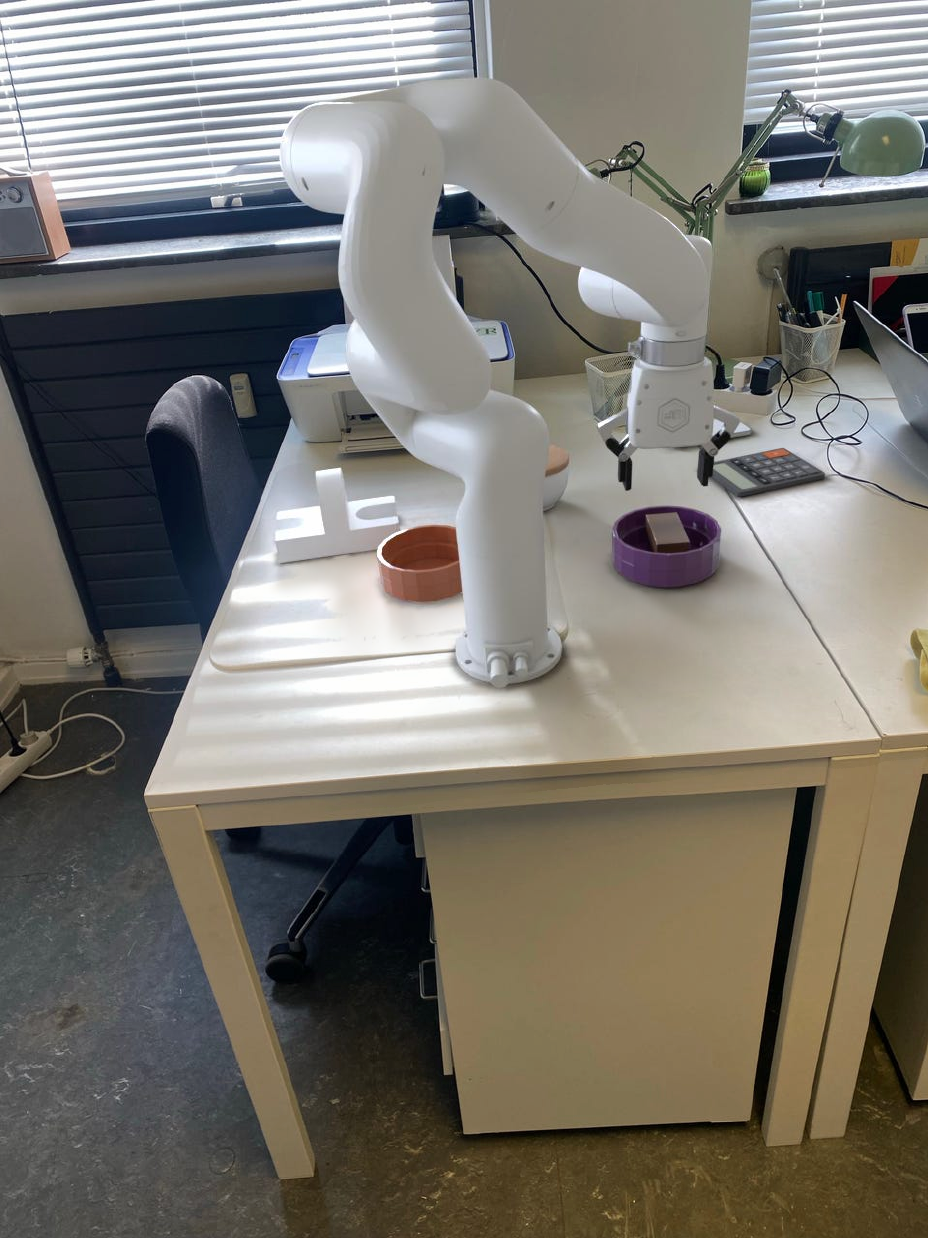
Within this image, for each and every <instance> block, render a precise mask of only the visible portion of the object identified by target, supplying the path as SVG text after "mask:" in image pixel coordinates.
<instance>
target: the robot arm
mask: <svg viewBox="0 0 928 1238" xmlns="http://www.w3.org/2000/svg"><path fill="white" fill-rule="evenodd" d="M279 162H280V169H281V172H282V175H283V179H284V180H285V182H286V184H287V186H288V188H289V189H290V190H291V191H292V193H293V194H294V195H295V197H297V199H299V200H300V201H301V202H302V203H303V204H304V205H307V206H308V207H310V208H312V209H314V210H317V211H319V212H322V213H323V212H324V213H330V214H337V215H344V216H343V221H342V227H341V228H342V229H341V234H340V243H339V245H340V246H339V251H338V253H339V254H338V265H337V267H338V269H337V271H338V273H337V274H338V282H339V288H340V291H341V295H342V297H343V300H344V302H345V304H346V306H347V308H348V310H349V312H350V313H351V315H352V317H353V321H352V323H351V324H350V327H349V329H348V332H347V335H346V339H345V359H346V364H347V369H348V372H349V375H350V377H351V379H352V381H353V384H354V385H355V386H356V388H357V390H358V391H359V392H360V393H361V395H362V396H363V398H364V399H365V400H366V402H367V403H368V404H369V406H370V407H371V408H372V409H373V410H374V412H375V414H377V416H378V417H379V418H380V419H381V421H382V422H383V423H384V424H385V426H386V427H387V428H388V429H389V431H390V432H391V433H392V435H393V436H394V437H395V438H396V439H397V441H398V442H399V443H400V444H401V445H402V447H403V448H404V449H405V450H406V451H408V453H410V454H411V455H412V456H413V457H414V458H416V459H418V460H419V461H421V462H423V463H425V464H427V465H428V466H429V465H430V466H432V467H434V468H436V469H439V470H441V471H444V472H446V473H448V474H450V475H453V476H454V477H457V478H459V479H461V480H462V481H463V483H464V487H465V489H464V490H465V491H464V494H463V497H462V499H461V501H460V503H459V505H458V508H457V512H456V514H455V515H456V517H455V527H456V535H457V543H458V552H459V562H460V572H461V581H462V591H463V592H462V599H463V601H462V602H463V610H464V619H465V630H466V631H465V632H463V634H462V635H460V637H459V638H458V640H457V641H456V645H455V658H456V662H457V664H458V666H459V667H460V669H461V670H462V671H463V672H464V673H466V674H467V675H468V676H470V677H472V678H474V679H477V680H479V681H482V682H486V683H490V684H491V685H492V687H493V688H496V689H504V688H506V687H507V685H510V684H520V683H525V682H529V681H532V680H534V679H537V678H540V677H541V676H543V675H545V674H547V673H548V672H550V671H552V669H554V668H555V666H556V665H557V664H558V663H559V662H560V659H561V657H562V652H563V645H562V639H561V637H560V635H559V633H558V632H557V631H556V630H555V629H554V628H553V627H551V626H550V625H549V624H548V601H547V600H548V599H547V580H546V578H547V577H546V557H545V556H546V555H545V533H544V511H543V489H544V479H545V473H546V467H547V461H548V455H549V447H550V445H551V443H550V442H551V440H550V439H551V437H550V431H549V429H548V425H547V423H546V421H545V419H544V417H543V416H542V415H541V414H540V413H539V411H538V410H537V409H536V408H534V407H533V406H531V405H530V404H529V403H527V402H526V401H524V400H522V399H520V398H518V397H516V396H513V395H511V394H508V393H507V394H506V393H503V392H500V391H496V390H494V389H491V386H492V382H493V367H492V363H491V359H490V355H489V353H488V350H487V348H486V345H485V344H484V342H483V340H482V339H481V337H480V336H479V333H478V332H477V331H476V329H475V327H474V326H473V324H472V323H471V321H470V320H469V318H468V316H467V315H466V313H465V311H464V309H463V308H462V306H461V305H460V303H459V302H458V300H457V299H456V297H455V295H454V293H453V292H452V290H451V288H450V287H449V286H448V284H447V282H446V280H445V278H444V276H443V274H442V272H441V270H440V269H439V266H438V264H437V261H436V259H435V254H434V249H433V232H434V223H435V218H436V214H437V209H438V205H439V201H440V198H441V195H442V190H443V185H450V186H451V185H452V186H458V187H461V188H463V189H464V190H466V191H468V192H469V193H471V194H472V195H473V196H474V197H475V198H476V199H477V200H478V201H479V202H481V203H482V204H483V205H484V206H485V207H486V208H487V209H489V210H490V211H491V212H492V213H493V214H494V215H495V216H497V217H498V218H499V219H500V221H502V222H503V223H504V224H505V225H506V226H508V227H509V228H510V229H511V231H513V232H514V233H515V234H516V235H517V236H518V237H519V238H520V239H521V240H522V241H523V242H524V243H526V244H527V245H528V246H529V247H531V248H532V249H534V250H536V251H538V252H540V253H542V254H544V255H546V256H549V257H551V258H554V259H556V260H558V261H561V262H563V263H566V264H569V265H573V266H576V267H581V268H580V270H579V274H578V278H577V286H578V287H577V288H578V293H579V296H580V298H581V300H582V302H583V303H584V305H585V306H586V307H587V308H589V309H590V311H591V310H592V311H593V312H595V313H597V314H599V315H602V316H605V317H610V318H616V319H620V320H626V321H634V322H639V323H640V333H639V336H638V338H637V340H634V341H629V342H628V343H627V352H628V353H627V354H628V355H635V356H637V357H638V358H637V359H635V360H634V364H633V366H632V371H631V375H630V379H629V384H628V385H629V386H628V393H627V401H626V407H625V408H624V409H622V410H620V411H618V412H617V413H615V414H613V415H611V416H609V417H608V418H605V419H604V420H602V421H601V422H599V423H597V426H596V429H597V431H598V434H599V435H600V437H601V439H602V440H603V442H604V444H605V446H606V448H607V449H608V451H610V452H612V454H614V456H616V457H617V461H618V462H617V481H618V483H622V485H623V488H624V491H625V492H628V491H629V492H630V491H631V490H632V485H633V460H632V458H631V456H632V455H633V454H634V453H635V452H636V450H638V449H641V450H650V449H652V450H653V449H669V448H670V449H671V448H672V449H673V448H687V447H698V446H701V447H700V449H699V450H698V457H697V458H698V460H697V472H696V479H697V480H698V482H699V484H700V485H701V486H702V487H708V486H709V478H712V476H713V467H714V462H715V457H716V456H718V454H719V452H720V450H721V449H723V447H724V446H725V445H726V444H728V443H729V442H730V441H731V435H732V434H733V433H734V431H735V430H736V428H737V427H738V425H739V423H740V422H741V420H740V418H739V417H738V416H737V415H736V414H734V413H732V412H730V411H728V410H726V409H724V408H722V407H719V406H717V405H715V386H714V385H715V384H714V370H713V362H712V361H711V360H710V359H709V358H708V357H707V356H706V347H707V336H708V334H707V332H708V322H709V321H708V320H709V307H710V296H711V285H712V284H711V282H712V272H713V271H712V270H713V259H714V257H713V255H714V253H713V252H714V250H713V245H712V243H711V241H710V240H709V239H707V238H706V237H703V236H701V235H694V234H683V232H682V231H681V230H680V229H679V228H678V227H677V226H676V225H675V224H674V223H673V222H672V221H670V220H669V219H668V218H667V217H665V216H664V215H662V214H661V213H660V212H658V211H657V210H655V209H653V208H651V207H650V206H648V205H647V204H645V203H643V202H641V201H640V200H638V199H636V198H634V197H632V195H629V194H628V193H626V192H625V191H623V190H621V189H620V188H618V187H617V186H615V185H613V184H612V183H609V182H608V181H606V180H604V179H602V178H600V177H599V176H596V175H595V174H593V173H592V172H590V171H589V169H588V168H586V166H584V164H582V163H581V161H580V160H579V159H578V158H577V157H576V155H574V153H573V152H571V151H570V149H569V148H568V147H567V146H566V145H565V144H564V143H563V141H561V139H560V138H559V137H558V136H557V135H556V134H555V133H554V132H553V130H551V128H550V127H549V126H548V125H547V123H545V121H544V120H542V118H541V117H540V116H539V115H538V114H537V112H535V110H534V109H533V108H532V107H531V106H530V105H529V104H528V102H527V101H525V99H523V97H522V96H520V94H519V93H518V92H517V91H515V89H513V88H512V87H511V86H509V85H507V84H506V83H505V82H502V81H500V80H497V79H494V78H491V77H490V78H488V77H465V78H447V79H432V80H431V79H430V80H424V81H419V82H414V83H413V82H412V83H409V84H405V85H400V86H397V87H391V88H388V89H383V90H379V91H375V92H374V91H373V92H368V93H363V94H357V95H352V96H348V97H342V98H337V99H331V100H326V101H321V102H320V101H319V102H316V103H313V104H309V105H308V106H306V107H304V108H303V109H301V110H299V111H298V112H297V113H296V114H295V115H294V116H293V117H292V118H291V119H290V121H289V122H288V124H287V125H286V127H285V130H284V131H283V134H282V137H281V141H280V145H279ZM715 419H717V420H719V421H721V422H723V423H724V425H723V426H722V429H721V430H719V431H718V432H717V433H716V434H715V435H714V436H713V437H712V434H713V424H714V420H715ZM623 425H624V426H625V433H626V435H625V436H624V438H623V439H622V440H621V441H620V442H619V441H618V439H616V438H615V437H614V436H613V434H612V433H613V431H614V430H616V429H617V428H619V427H622V426H623Z"/></svg>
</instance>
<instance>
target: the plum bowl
mask: <svg viewBox="0 0 928 1238" xmlns="http://www.w3.org/2000/svg"><path fill="white" fill-rule="evenodd" d="M675 512H676V513H677V515H678V517H679V519H680V521H681V523H682V526H683V528H684V530H685V532H686V534H687V537H688V539H689V541H690V551H687V552H681V553H655V552H649V551H648V548H647V532H646V530H645V524H646V515H649V514H662V513H675ZM722 531H723V529H722V527H721V525H720V523H719V521H718V520H717V519H715V518H714V517H713V516H711V515H710V514H708V513H706V512H704V511H702V510H698V509H696V508H691V507H685V506H682V505H653V506H646V507H642V508H637V509H634V510H631V511H629V512H627V513H624V514H623V515H621V516H620V517H619V518H618V519H617V520H615V521H614V524H613V525H612V529H611V561H612V565H613V569H615V570H616V571H617V573H619V574H620V575H621V576H622V577H624V578H627V579H628V580H630V581H632V582H634V583H638V584H641V585H645V586H649V587H654V588H655V587H656V588H679V587H685V586H689V585H693V584H696V583H700V582H701V581H704V580H706V579H707V578H709V577H711V576H712V575H713V574H714V573H715V572H717V569H719V564H720V556H721V544H722Z"/></svg>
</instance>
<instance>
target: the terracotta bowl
mask: <svg viewBox="0 0 928 1238" xmlns="http://www.w3.org/2000/svg"><path fill="white" fill-rule="evenodd" d="M376 551H377V552H376V559H377V565H378V571H379V577H380V578H379V579H380V582H381V586H382V588H383V590H384V591H385V592H386V593H387V594H389V595H390V596H391V597H394V598H395V599H399V600H402V601H406V602H407V601H408V602H417V603H426V602H437V601H441V600H446V599H450V598H453V597H454V596H457V595H459V594H461V593H463V591H462V581H461V572H460V562H459V552H458V543H457V535H456V526H451V525H446V524H445V525H444V524H427V525H425V524H424V525H417V526H413V527H409V528H406V529H403V530H400V532H397V533H395V534H393V535H391V536H390V537H388V538H387V539H385V540H384V541H383V542H382V543H381V545H380V546H379V547H378V550H376Z"/></svg>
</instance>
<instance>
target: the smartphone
mask: <svg viewBox="0 0 928 1238" xmlns="http://www.w3.org/2000/svg"><path fill="white" fill-rule="evenodd" d="M723 425H724V423H723V422H721V421H719V420H717V419H714V424H713V434H712V437H713V436H714V435H715V434H716V433H717V432H718V431H719V430H721V429H722V426H723ZM751 434H752V428H751V427H749V426H748V425H747V424H744V423H743V422H741V421H740V423H739V425H738V427H737V428H736V430H735V431H734V433H733V434H732V435H731V438H737V437H738V438H739V437H746V436H750V435H751Z"/></svg>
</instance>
